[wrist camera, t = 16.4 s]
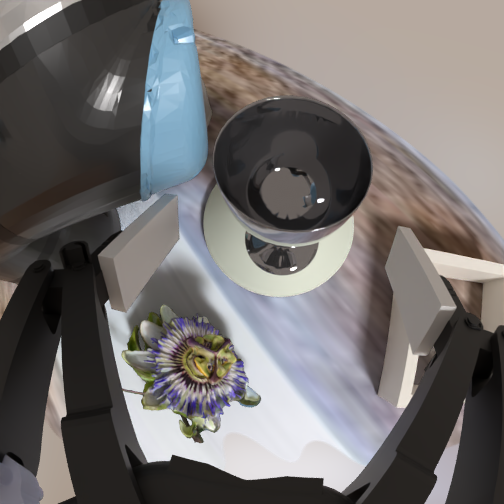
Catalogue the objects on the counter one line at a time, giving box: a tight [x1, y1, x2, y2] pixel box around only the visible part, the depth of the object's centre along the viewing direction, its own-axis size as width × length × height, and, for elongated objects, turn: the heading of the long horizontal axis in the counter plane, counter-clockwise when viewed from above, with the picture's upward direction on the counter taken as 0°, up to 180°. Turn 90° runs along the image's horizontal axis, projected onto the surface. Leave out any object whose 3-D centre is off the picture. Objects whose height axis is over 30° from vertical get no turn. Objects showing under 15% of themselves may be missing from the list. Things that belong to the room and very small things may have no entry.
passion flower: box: [122, 305, 261, 443], centre depth 23 cm, size 11×11×12 cm
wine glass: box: [213, 95, 373, 276], centre depth 21 cm, size 8×8×15 cm
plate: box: [203, 184, 354, 297], centre depth 29 cm, size 15×15×1 cm
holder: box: [378, 248, 504, 408], centre depth 24 cm, size 14×14×5 cm
